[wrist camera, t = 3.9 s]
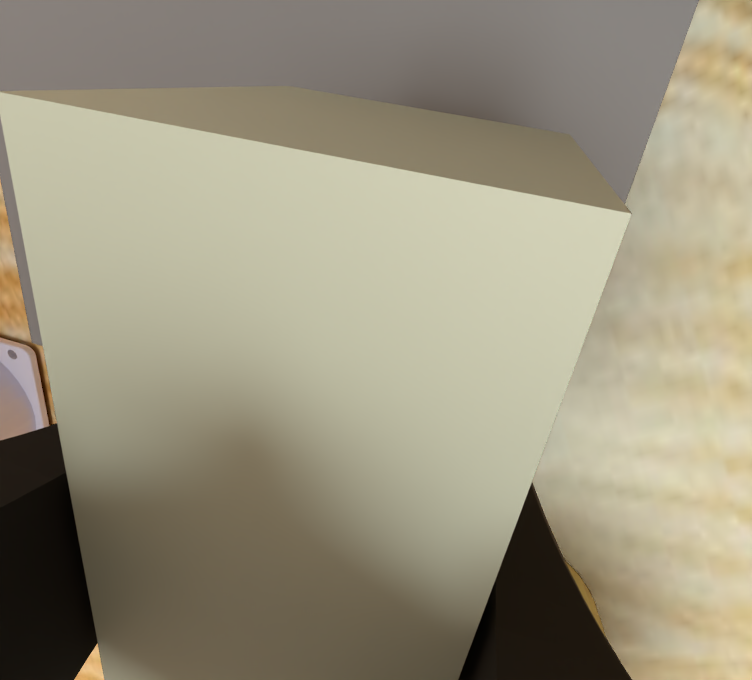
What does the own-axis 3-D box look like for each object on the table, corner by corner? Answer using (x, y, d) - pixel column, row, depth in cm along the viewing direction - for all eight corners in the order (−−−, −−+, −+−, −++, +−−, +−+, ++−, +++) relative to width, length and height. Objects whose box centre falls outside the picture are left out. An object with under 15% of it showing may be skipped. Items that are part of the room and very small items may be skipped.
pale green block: (263, 543, 15) (124, 786, 10) (288, 85, 9) (-5, 90, 4) (432, 598, 14) (377, 893, 9) (569, 134, 9) (631, 213, 3)
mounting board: (53, 331, 25) (31, 342, 24) (-35, -183, 16) (-73, -200, 15) (523, 463, 21) (523, 483, 20) (727, -112, 13) (745, -130, 11)
